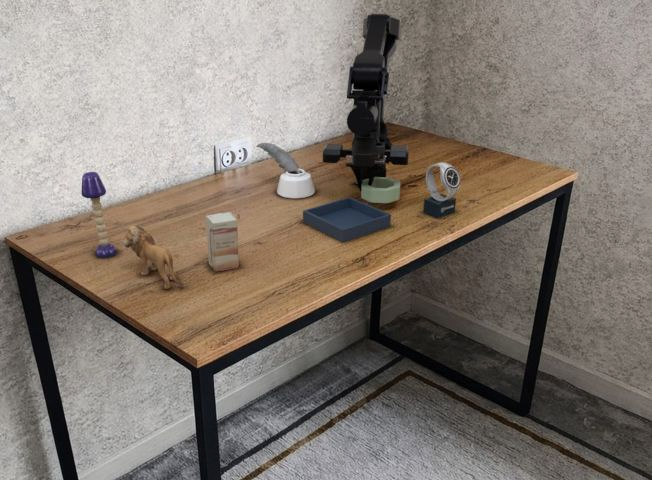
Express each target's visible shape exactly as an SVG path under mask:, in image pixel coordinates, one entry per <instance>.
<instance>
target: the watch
mask: <svg viewBox="0 0 652 480" xmlns="http://www.w3.org/2000/svg"><path fill="white" fill-rule="evenodd" d="M437 167H439V172H440V182H441V185H442V187H443V188H444V189H445V191H446V194H444V193H439V189H438V187H437V183H436V179H435V178H436V177H435V176H434V172H435V169H436V168H437ZM424 178H425V185H426V188H427V191H428V194H429V195H430V197H428V198H424V200H423V212H422V213H423V214H425V215H428V216H430V217H433V218H436V219H440V218H443V217H445V216H448V215H451V214H453V213H455V212H456V202H457V198H455V196H456V195H457V192H458V191H459V188H460V186H461V182H462V181H461V180H462V178H461V174H460V172H459V170H458V169H457V168H455V167H454V166H453V165H451V164H450V163H447V162H445V161H442V162H438V163H435V164H432V165H430V166H429V167H428V168H427V170H426V171H425V177H424Z"/></svg>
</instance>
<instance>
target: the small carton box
mask: <svg viewBox="0 0 652 480" xmlns="http://www.w3.org/2000/svg"><path fill="white" fill-rule="evenodd" d="M205 221H206V239H207V240H206V241H207V258H208V264H209V266H210V267H211V268H212V270H213V271H214V272H222V271H228V270H234V269H238V268H239V267H240V266H239V265H240V264H239V263H240V261H239V237H238V235H239V233H238V219H237V217H236V216H235V215H234V214H233V213H232V212H231V211H226V212H219V213H214V214H207V215H205Z"/></svg>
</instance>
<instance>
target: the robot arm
mask: <svg viewBox="0 0 652 480" xmlns="http://www.w3.org/2000/svg"><path fill="white" fill-rule="evenodd" d="M401 33H402V23H401V21H400V19H397V18H395V17H393V16H392V15H391V14H388V13H370V14H367V17H366V18H364V19H363V23H362V38H363V39H364V43H363V48H362V52H361V53H359V54H357V55H356V56H355V57H354V60H353V64H352V66H349V71H348V80H347V90H346V99H347V100H353V105H352V107H351V109H350V111H349V113H348V115H347V118H346V125H347V128H348V130H349V131H350V132H351V133H352V138H353V139H352V142H351V148H344V147H343V146H344V145H343V143H335V142H334V143H333V142H331V143H330V142H329V143H326V144H325V145H324V148H323V150H322V163H324V164H337V163H339V161H341V158H343V159H344V158H345V160H346V161H345V167H347V168H350V169H351V170H352V172H353V174H354V177H355V179H356V180H354V181H353V182H352V183H353V185H355V186H357V187H358V189H359V192H361V190H362V182H363V180H366V179H369V181H368V185H369V186H371V185H372V183H373V180H374V177H387V168H386V167H387V165H389V163H391V164H392V165H393V166H407V165H409V155H410V153H409V152H410V148H409V146H408V145H406V144H404V145H401V144H393V143H392V140H391V137H389V130H388V127H387V125H386V123H385V120H384V117H385V115H384V114H385V103H386V96H387V95H388V90H389V89H388V88H389V82H390V73H389V62H390V59H391V58H392V56H393V55H394V54H395V52H396V51H397V47H398V41H400V40H401Z"/></svg>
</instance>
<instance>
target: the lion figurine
mask: <svg viewBox="0 0 652 480" xmlns="http://www.w3.org/2000/svg"><path fill="white" fill-rule="evenodd" d="M127 229H128V231H127V233H126V234H125V236H124V237H123V238H122V239H121V240H120V242H121V243H122V244H123V245H124V247H125V249H129V248H130V249H131V251H132V252H134V253H135V254H136V257H138V258H139V261H140V264H141V267H142V269H143V270H142V271H141V272H140V275H141V276H147V275H149V272H150V271H149V267H148V261H149V262H150V263H151V266H150V270H151V271H156V270H157V271H158V273H159V275H160V276H161V278H162V279H163V281H164V283H165V284H164V285H163V289H164V290H169V289H171V281H174V282H175V283H176V284H177V285H178V286H179V287H184V286H185V284H184V283H182V282H181V281H180V280H178V279H177V278H176V274H175V271H174V259H173V256H172V254H171V252H170V251H169V249H167V248H166V247H162V246H160V245H159V244H157V243H156V242H155V240H154V238H153V236H152V235H151V233H149V232H148V231H147V230H145V229H144V228H143V227H141V226H139V225H131V226H128V227H127ZM166 267H167V268H168V271H169V277H168V275H167V273H166V269H165V268H166ZM170 280H171V281H170Z"/></svg>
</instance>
